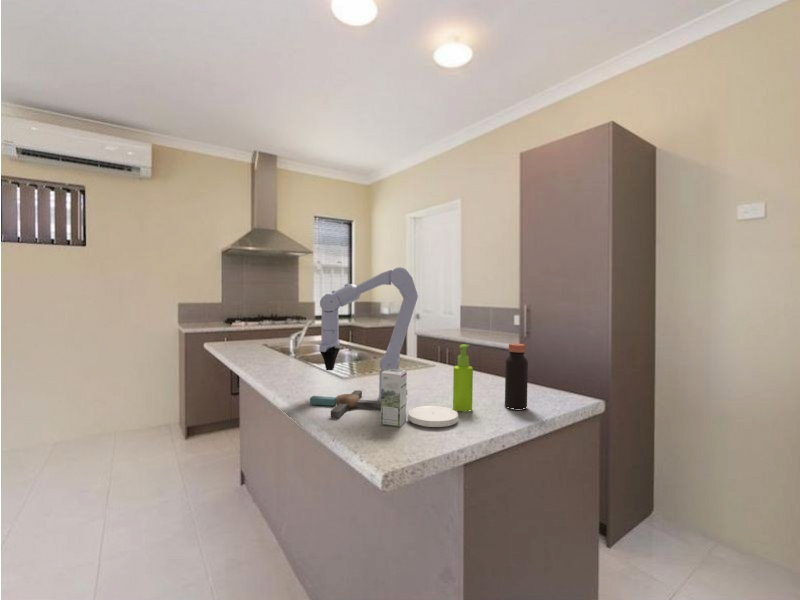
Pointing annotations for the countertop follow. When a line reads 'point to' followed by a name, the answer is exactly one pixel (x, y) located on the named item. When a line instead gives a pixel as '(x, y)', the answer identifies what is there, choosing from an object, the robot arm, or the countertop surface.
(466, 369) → the soap dispenser
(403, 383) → the syrup box
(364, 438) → the countertop surface
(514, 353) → the bottle
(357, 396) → the grey brown t-shaped piece
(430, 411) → the plastic lid
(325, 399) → the teal rectangular block
